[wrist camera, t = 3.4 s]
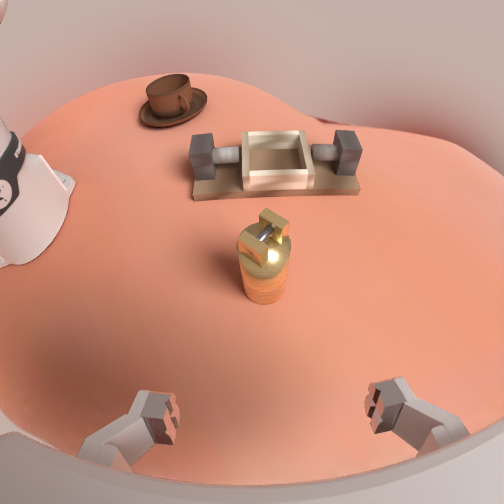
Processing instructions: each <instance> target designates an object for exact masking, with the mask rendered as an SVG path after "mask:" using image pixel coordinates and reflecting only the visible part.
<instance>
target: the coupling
mask: <svg viewBox="0 0 504 504" xmlns="http://www.w3.org/2000/svg"><path fill="white" fill-rule="evenodd" d="M288 227H289V221H287V220H286V219H284V218H282V217H281V216H279V215H277V214H276V213H274V212H272V211H271V210H269V209H267V208H265V209H264V210H263V211H262V212H261V213H260V215H259V223H255V224H252V225H250V226H248V227H247V228H245V229H244V230H243V231H242V232H241V234H240V235H239V237H238V238H237V252H238V258H239V263H240V269H241V274H242V280H243V285H244V290H245V293H246V295H247V297H248V298H249V299H250V300H251V301H253V302H255V303H257V304H261V305H267V304H271V303H274V302H275V301H277V300H278V299H279V298H280V297H281V296H282V294H283V292H284V287H285V281H286V275H287V269H288V263H289V256H290V250H291V241H290V238H289V236H288Z"/></svg>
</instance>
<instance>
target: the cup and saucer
mask: <svg viewBox="0 0 504 504" xmlns="http://www.w3.org/2000/svg"><path fill="white" fill-rule="evenodd" d="M146 93H147V96H148V99H149V100H148V101H147V102H146V103H145V104H144V105H143V106H142V107H141V109H140V112H139V117H140V119H141V120H142V122H144V123H145V124H147V125H151V126H156V127H164V126H171V125H176V124H179V123H182V122H184V121H187V120H189V119H191V118H192V117H194V116H195V115H197V114H198V113H199V112H200V111H201V110H202V109H203V108H204V107H205V105H206V103H207V95H206V93H205V92H204V91H202V90H200V89H197V88H192V87H191V85H190V80H189V77H188V76H187V75H184V74H172V75H167V76H164V77H161V78H159V79H157V80H155V81H153V82H152V83H150V84H149V85H148V86H147V88H146Z"/></svg>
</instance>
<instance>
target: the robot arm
mask: <svg viewBox="0 0 504 504" xmlns="http://www.w3.org/2000/svg"><path fill="white" fill-rule="evenodd" d="M7 5H8V0H0V24H1V22H2V20H3V18H4V15H5V12H6V8H7ZM75 184H76V181H75V180H74V179H73V178H72V177H70V176H68V175H66V174H63V173H61V172H59V171H57V170H54V169H52V168H51V167H50V166H49V165H48V163H47V162H46V161H45V159H44V158H43V157H42V155H37V154H34V153H27V152H26V150H25V148H24V146H23V145H22V142H21V141H20V139H19V138H18V137H17V136H16V135H15V133H14V132H11V131H9V130H8V128H7V126H6V125H5V123H4V121H3V120H2V118H1V117H0V268H3V267H5V266H7V265H9V264H15V265H21V264H25V263H28V262H30V261H31V260H33V259H35V258H36V257H37V256H39V255H40V254H41V253H42V252H43V251H44V250H45V249H46V248H47V247H48V246H49V244H50V243H51V242H52V241H53V239H54V238H55V236H56V235H57V233H58V232H59V230H60V228H61V226H62V224H63V222H64V219H65V217H66V213H67V209H68V203H69V197H70V195H71V193H72V191H73V189H74V187H75ZM368 390H369V394H368V395H367V396H366V399H365V411H366V414H367V416H368V417H369V418H371V422H370V425H371V427H372V430H373V432H374V434H378V433H382V432H387V431H391V430H392V432H394V433H395V434H396V435H398V436H399V437H400V438H402V439H403V440H404V441H406V442H407V443H408V444H410V445H411V446H412V447H414V448H415V449H416V450H418V451H419V452H418V453H417V455H416V456H415V457H414V458H412V459H408V460H405V461H402V462H399V463H396V464H392V465H389V466H385V467H381V468H378V469H374V470H370V471H365V472H361V473H356V474H352V475H347V476H341V477H336V478H330V479H323V480H316V481H308V482H299V483H288V484H272V485H220V484H204V483H193V482H184V481H176V480H169V479H162V478H156V477H151V476H145V475H140V474H136V473H134V472H133V471H132V469H131V468H130V466H131V465H133V464H134V463H135V462H136V461H137V460H138V459H139V458H140V457H142V456H143V455H144V454H145V453H146V452H147V451H148V450H149V449H150V448H151V447H153V446H154V445H155V443H158V444H167V445H174V443H175V439H176V435H177V433H176V430H175V429H176V428H177V427H178V426H179V423H180V409H179V406H178V405H177V404H175V402H176V396H175V394H174V393H168V392H159V391H149V390H140V391H138V393H137V395H136V398H135V400H134V402H133V404H132V406H131V408H130V410H129V413H128V415H126V414H124V415H123V416H121V417H119V418H118V419H116V420H115V421H113V422H111V423H110V424H108V425H106V426H105V427H103V428H101V429H100V430H98V431H96V432H95V433H93V434H91V435H90V436H88V437H86V439H85V441H84V443H83V445H82V447H81V448H80V450H79V452H78V454H77V456H76V457H75V456H72V455H70V454H67V453H64V452H62V451H59V450H56V449H54V448H52V447H49V446H47V445H44V444H42V443H40V442H37V441H35V440H33V439H31V438H29V437H27V436H25V435H23V434H21V433H18V432H10V433H6V434H4V435H1V436H0V504H504V417H502V418H500V419H498V420H497V421H495V422H493V423H491V424H490V425H488V426H486V427H484V428H482V429H480V430H478V431H476V432H474V433H472V434H470V433H469V432H468V430H467V429H466V427H465V426H464V424H463V422H462V421H461V419H460V418H459V417H458V416H455V415H453V414H451V413H449V412H447V411H445V410H443V409H441V408H439V407H437V406H434V405H432V404H430V403H428V402H426V401H424V400H422V399H417V398H416V396H415V394H414V393H413V391H412V390H411V388H410V386H409V385H408V383H407V382H406V380H405V378H404V377H402V376H400V377H395V378H392V379H386V380H381V381H377V382H371V383H370V384H369V387H368Z"/></svg>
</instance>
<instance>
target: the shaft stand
mask: <svg viewBox="0 0 504 504" xmlns="http://www.w3.org/2000/svg"><path fill="white" fill-rule="evenodd" d="M361 154H362V147H361V145H360V143H359V140H358V138H357V136H356V134H355V132H354V131H346V130H336V132H335V137H334V142H333V145H329V144H312V145H308V142H307V139H306V135H305V131H258V132H242V147H238V146H234V147H221V148H215V147H214V141H213V136H212V133H208V134H198V135H192V139H191V144H190V150H189V158H190V162H191V165H192V169H193V173H194V176H195V179H194V187H193V198H194V201H203V200H218V199H234V198H253V197H276V196H311V195H358V194H359V191H360V186H359V183H358V180H357V177H356V174H355V173H356V169H357V166H358V163H359V160H360V157H361Z"/></svg>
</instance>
